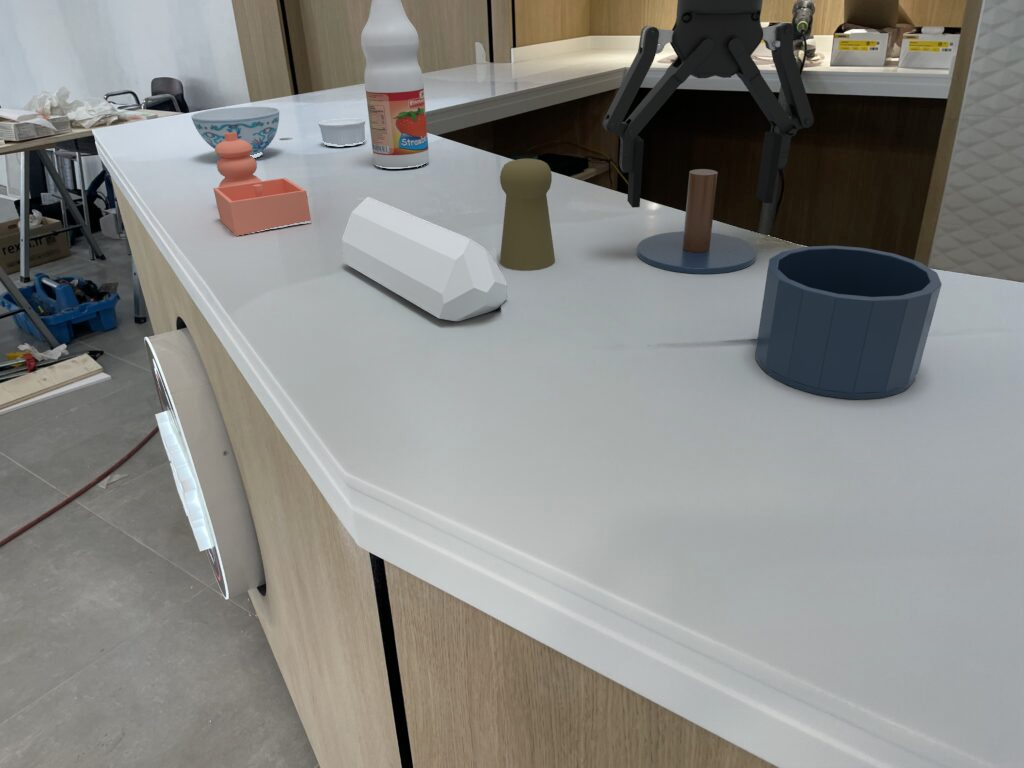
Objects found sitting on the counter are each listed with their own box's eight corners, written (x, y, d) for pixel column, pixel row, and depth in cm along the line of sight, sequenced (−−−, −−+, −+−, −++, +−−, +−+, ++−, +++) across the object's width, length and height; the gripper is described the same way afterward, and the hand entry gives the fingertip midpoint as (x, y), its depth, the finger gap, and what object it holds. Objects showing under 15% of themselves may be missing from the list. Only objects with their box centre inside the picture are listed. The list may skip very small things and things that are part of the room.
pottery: (311, 223, 94) (298, 144, 90) (236, 236, 90) (219, 154, 86) (272, 195, 108) (259, 126, 103) (206, 205, 104) (189, 133, 99)
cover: (734, 239, 84) (744, 157, 79) (773, 276, 73) (787, 184, 69) (626, 243, 84) (630, 161, 79) (649, 282, 73) (656, 189, 68)
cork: (517, 253, 81) (515, 152, 76) (565, 261, 79) (566, 157, 73) (488, 270, 77) (483, 163, 72) (538, 279, 74) (537, 169, 69)
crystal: (537, 266, 66) (406, 212, 83) (478, 242, 61) (352, 190, 78) (506, 342, 67) (383, 274, 84) (445, 324, 62) (329, 255, 79)
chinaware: (220, 169, 125) (210, 122, 121) (188, 157, 135) (178, 113, 131) (300, 156, 134) (293, 111, 130) (264, 145, 144) (257, 104, 140)
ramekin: (317, 143, 145) (313, 120, 143) (361, 138, 148) (358, 116, 146) (327, 150, 138) (323, 126, 136) (372, 145, 141) (370, 122, 139)
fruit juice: (389, 158, 130) (370, -22, 117) (438, 160, 127) (424, -24, 114) (364, 169, 122) (341, -22, 109) (416, 171, 119) (398, -25, 106)
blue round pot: (869, 329, 62) (889, 242, 58) (946, 395, 52) (976, 296, 48) (736, 335, 61) (747, 248, 58) (787, 403, 51) (804, 303, 48)
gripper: (590, -34, 61) (583, 215, 72) (881, -40, 62) (833, 207, 72) (578, -32, 68) (574, 196, 78) (842, -38, 69) (803, 189, 79)
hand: (698, 202), depth 75 cm, fingers open, 13 cm apart
